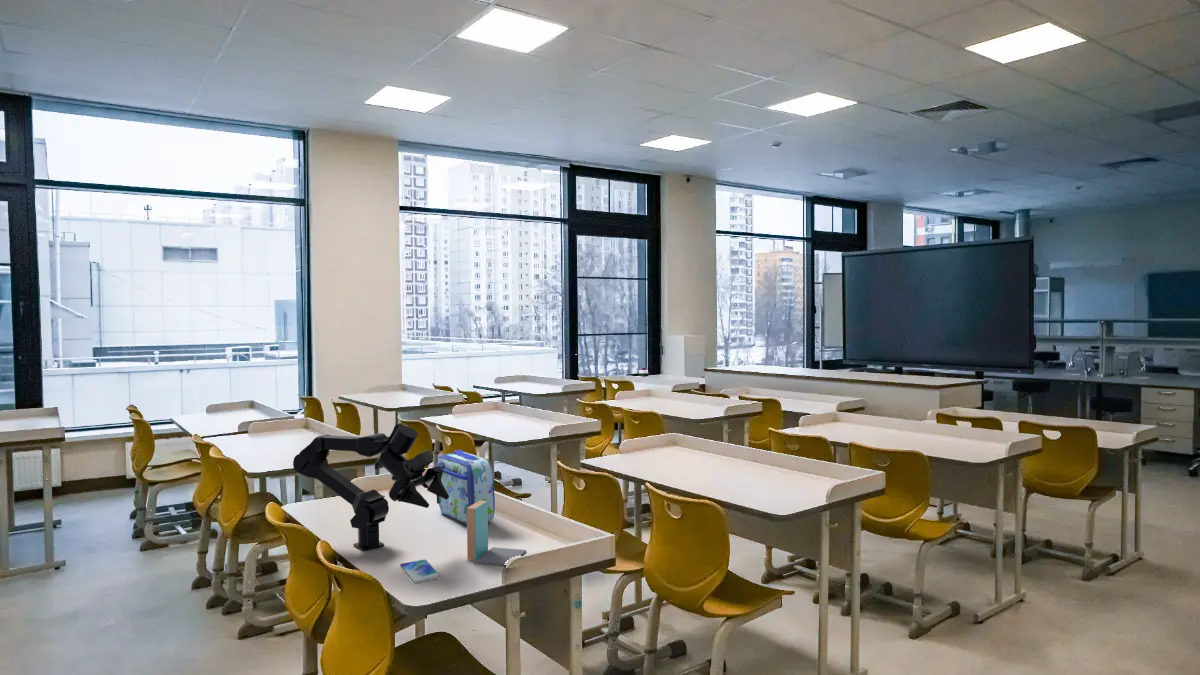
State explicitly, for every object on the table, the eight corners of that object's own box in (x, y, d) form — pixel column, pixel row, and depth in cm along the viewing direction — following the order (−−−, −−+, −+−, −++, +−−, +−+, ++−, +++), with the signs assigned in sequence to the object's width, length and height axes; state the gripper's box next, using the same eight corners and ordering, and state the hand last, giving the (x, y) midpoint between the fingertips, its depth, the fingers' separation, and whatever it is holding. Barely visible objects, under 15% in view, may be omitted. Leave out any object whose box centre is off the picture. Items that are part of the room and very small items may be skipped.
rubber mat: (474, 563, 195) (474, 561, 195) (492, 548, 206) (492, 547, 206) (510, 566, 192) (510, 564, 192) (526, 551, 204) (526, 549, 204)
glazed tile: (467, 560, 197) (466, 508, 197) (479, 550, 205) (479, 500, 204) (476, 560, 197) (475, 508, 196) (488, 551, 204) (487, 501, 204)
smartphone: (412, 582, 180) (398, 563, 193) (413, 586, 180) (398, 567, 193) (442, 576, 184) (426, 558, 197) (442, 580, 184) (426, 562, 197)
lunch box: (433, 511, 245) (432, 449, 244) (463, 506, 251) (462, 445, 250) (466, 531, 223) (465, 462, 222) (498, 524, 229) (497, 458, 228)
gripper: (390, 449, 194) (431, 487, 189) (432, 437, 211) (471, 472, 206) (371, 482, 196) (412, 520, 192) (414, 468, 214) (452, 502, 209)
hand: (438, 502), depth 200 cm, fingers open, 9 cm apart
